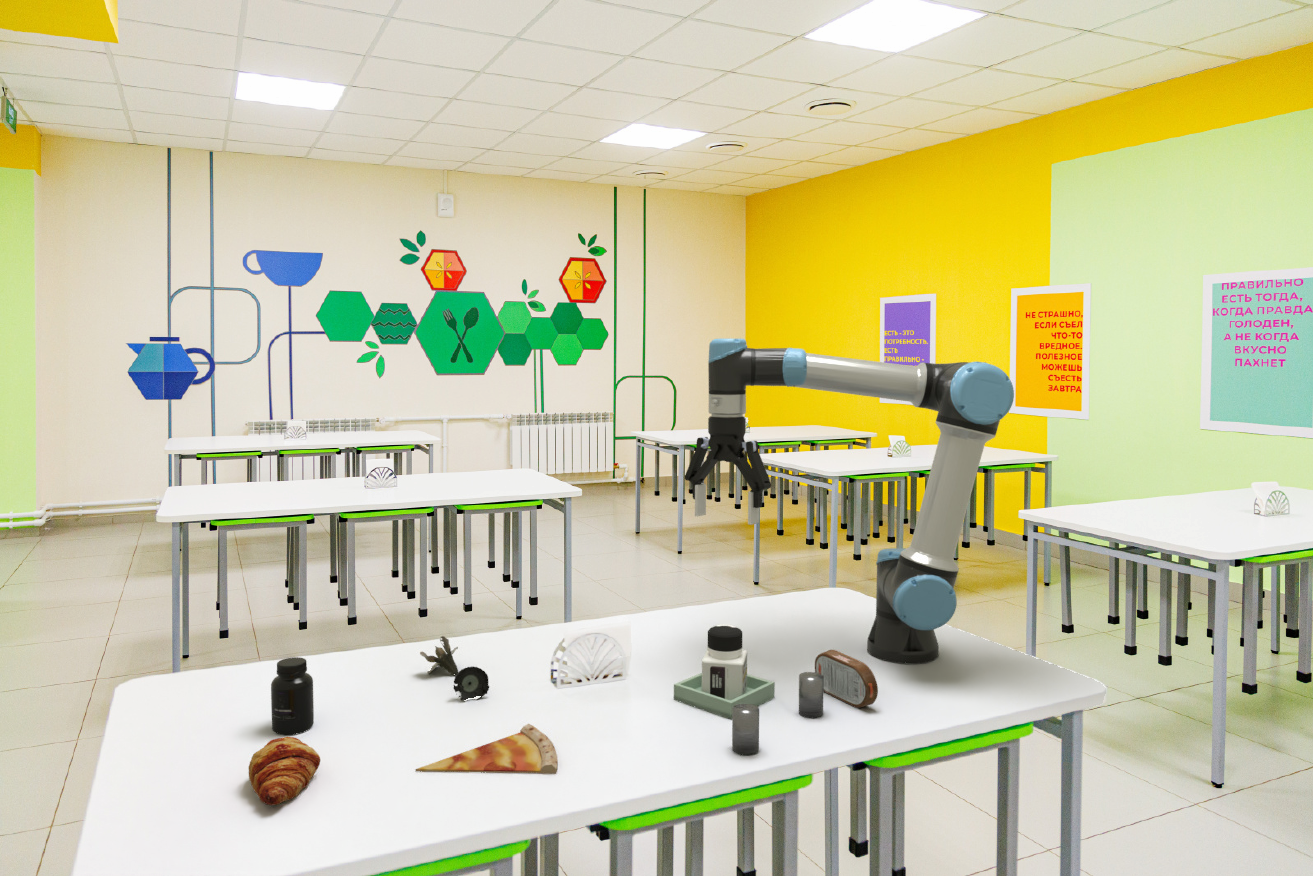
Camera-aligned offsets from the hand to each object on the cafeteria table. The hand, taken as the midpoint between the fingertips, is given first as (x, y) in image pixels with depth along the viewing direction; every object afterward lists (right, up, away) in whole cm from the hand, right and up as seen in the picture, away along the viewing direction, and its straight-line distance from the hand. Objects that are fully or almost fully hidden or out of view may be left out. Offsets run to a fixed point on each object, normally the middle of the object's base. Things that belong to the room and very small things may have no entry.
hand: (726, 519), depth 180 cm
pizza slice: (-41, -36, -34) cm, 64 cm away
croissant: (-71, -36, -44) cm, 91 cm away
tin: (+21, -33, -12) cm, 41 cm away
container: (-1, -32, -12) cm, 35 cm away
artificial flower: (-55, -33, -3) cm, 64 cm away
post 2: (+14, -34, -19) cm, 41 cm away
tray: (-1, -33, -12) cm, 35 cm away
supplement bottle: (-78, -34, -25) cm, 89 cm away
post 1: (0, -35, -34) cm, 49 cm away
